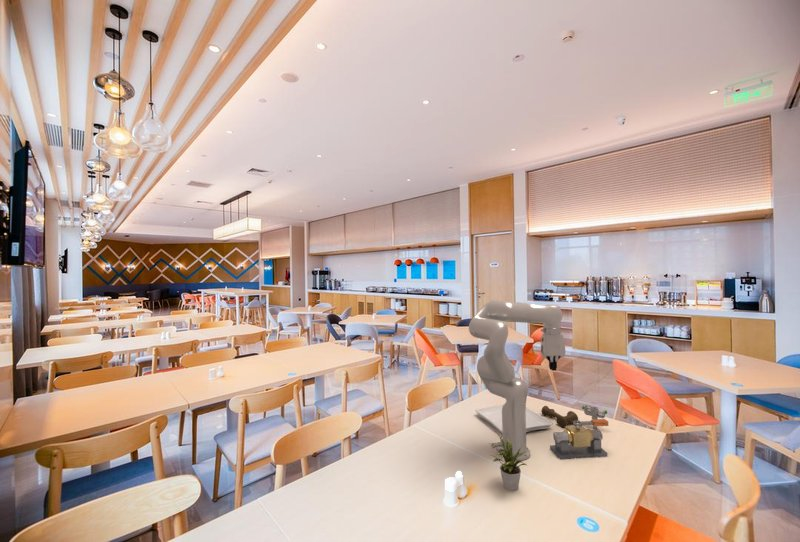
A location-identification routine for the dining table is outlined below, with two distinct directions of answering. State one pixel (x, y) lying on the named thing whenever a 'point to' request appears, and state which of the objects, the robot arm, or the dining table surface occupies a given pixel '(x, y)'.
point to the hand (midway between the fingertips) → (553, 369)
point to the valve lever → (591, 423)
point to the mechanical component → (594, 412)
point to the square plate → (495, 413)
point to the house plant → (509, 466)
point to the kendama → (560, 419)
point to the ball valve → (578, 443)
